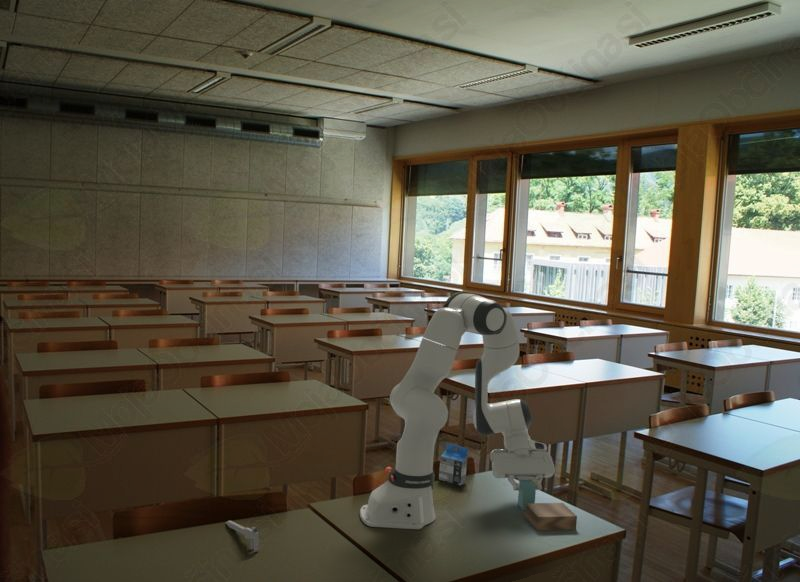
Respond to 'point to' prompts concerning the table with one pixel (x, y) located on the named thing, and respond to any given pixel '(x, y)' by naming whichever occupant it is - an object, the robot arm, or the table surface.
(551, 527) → the walnut block
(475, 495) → the table surface
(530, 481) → the teal column
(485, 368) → the robot arm
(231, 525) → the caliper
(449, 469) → the label tape box
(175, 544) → the table surface
